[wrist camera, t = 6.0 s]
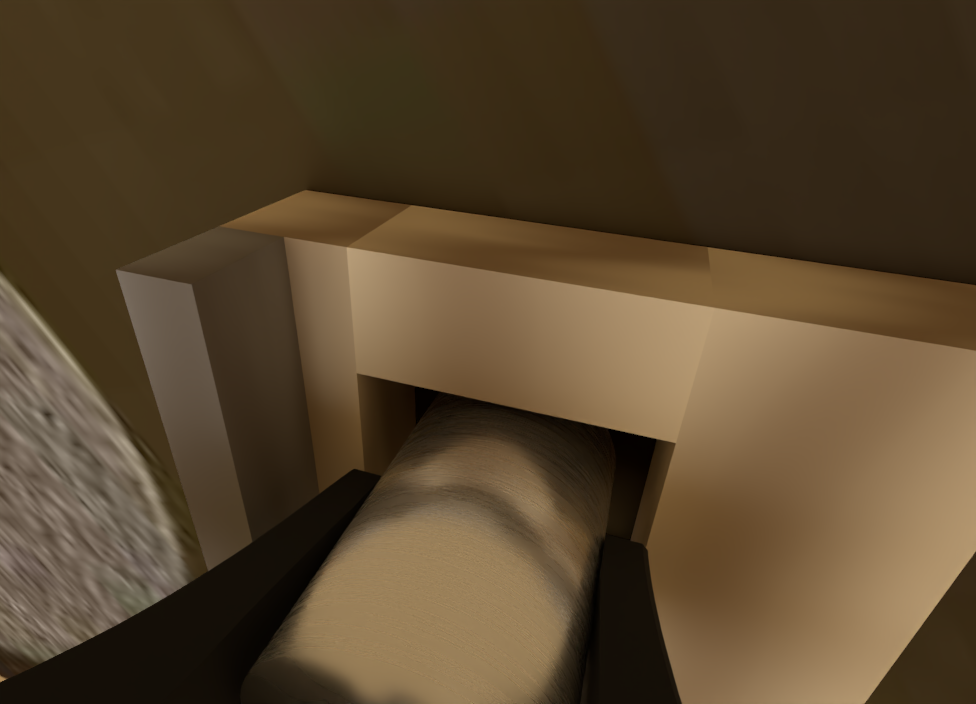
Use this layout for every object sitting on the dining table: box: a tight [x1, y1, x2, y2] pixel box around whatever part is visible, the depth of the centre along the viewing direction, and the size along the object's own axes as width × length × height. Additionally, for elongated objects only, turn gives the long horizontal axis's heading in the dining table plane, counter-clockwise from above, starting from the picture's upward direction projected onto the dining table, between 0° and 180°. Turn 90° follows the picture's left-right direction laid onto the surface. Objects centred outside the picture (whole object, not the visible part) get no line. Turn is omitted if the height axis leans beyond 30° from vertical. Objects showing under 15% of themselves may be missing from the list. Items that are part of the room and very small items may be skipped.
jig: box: [116, 190, 976, 704], centre depth 12 cm, size 12×14×4 cm
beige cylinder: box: [240, 391, 616, 704], centre depth 9 cm, size 4×4×6 cm
